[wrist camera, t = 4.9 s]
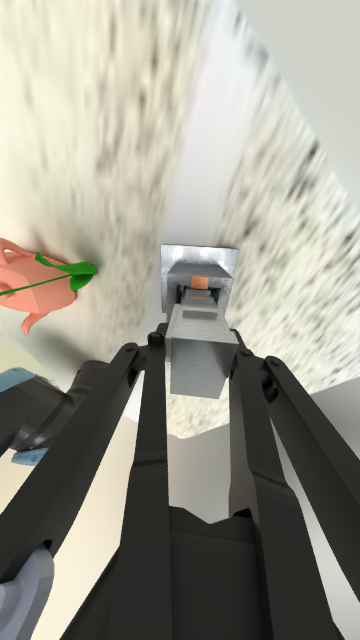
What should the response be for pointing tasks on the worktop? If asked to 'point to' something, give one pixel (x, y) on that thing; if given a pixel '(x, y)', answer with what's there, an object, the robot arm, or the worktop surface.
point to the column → (200, 346)
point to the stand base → (196, 273)
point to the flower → (78, 272)
